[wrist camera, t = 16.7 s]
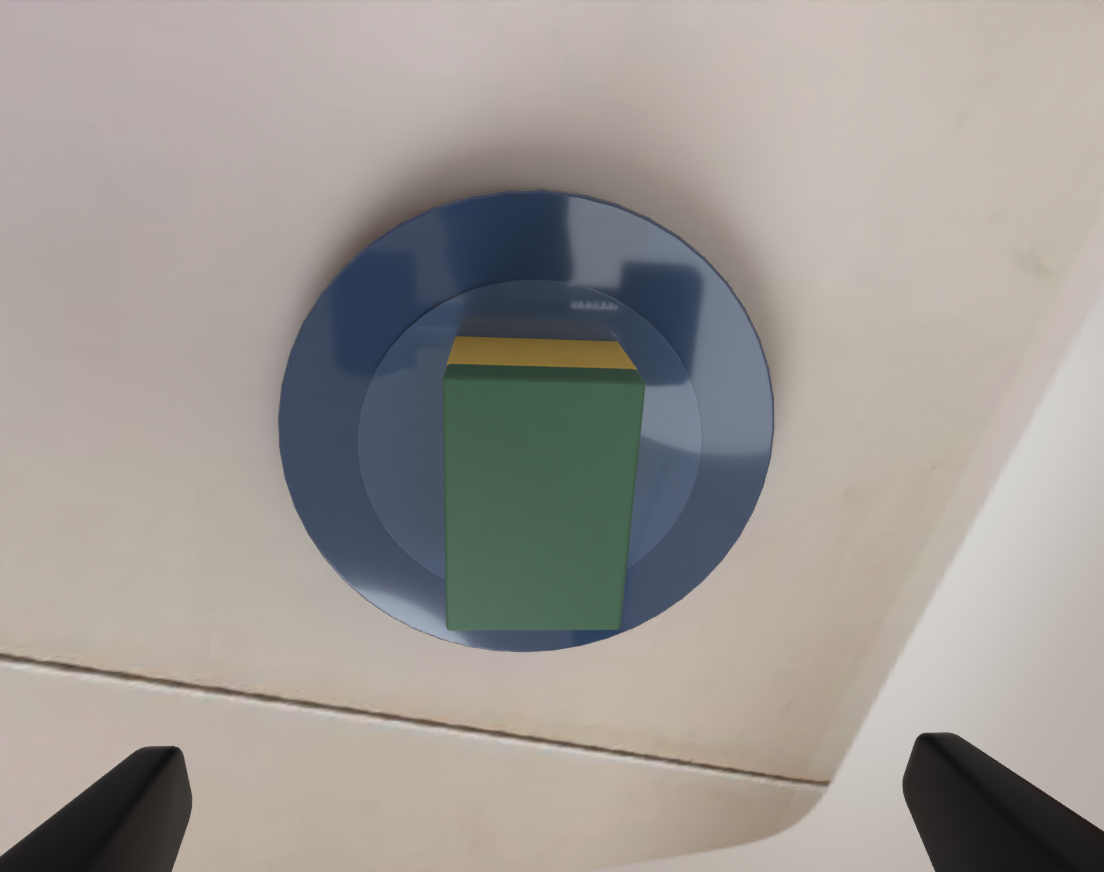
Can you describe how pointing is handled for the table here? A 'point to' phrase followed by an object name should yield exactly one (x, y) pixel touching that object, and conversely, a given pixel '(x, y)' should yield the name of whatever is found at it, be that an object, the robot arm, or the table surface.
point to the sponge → (538, 482)
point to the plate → (534, 313)
